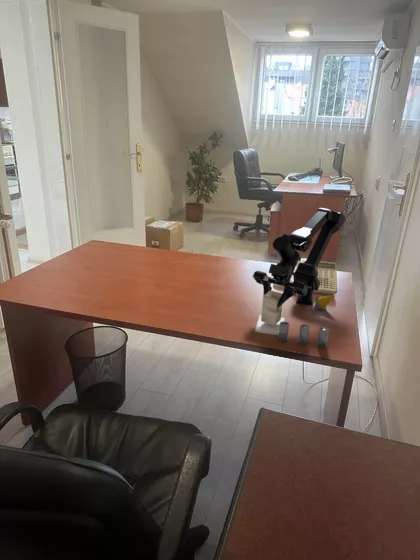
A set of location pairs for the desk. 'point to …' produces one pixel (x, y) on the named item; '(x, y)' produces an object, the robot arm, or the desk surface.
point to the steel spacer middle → (303, 334)
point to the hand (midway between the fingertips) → (270, 304)
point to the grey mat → (268, 327)
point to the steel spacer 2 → (323, 337)
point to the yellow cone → (323, 302)
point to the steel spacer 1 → (283, 331)
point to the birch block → (271, 308)
